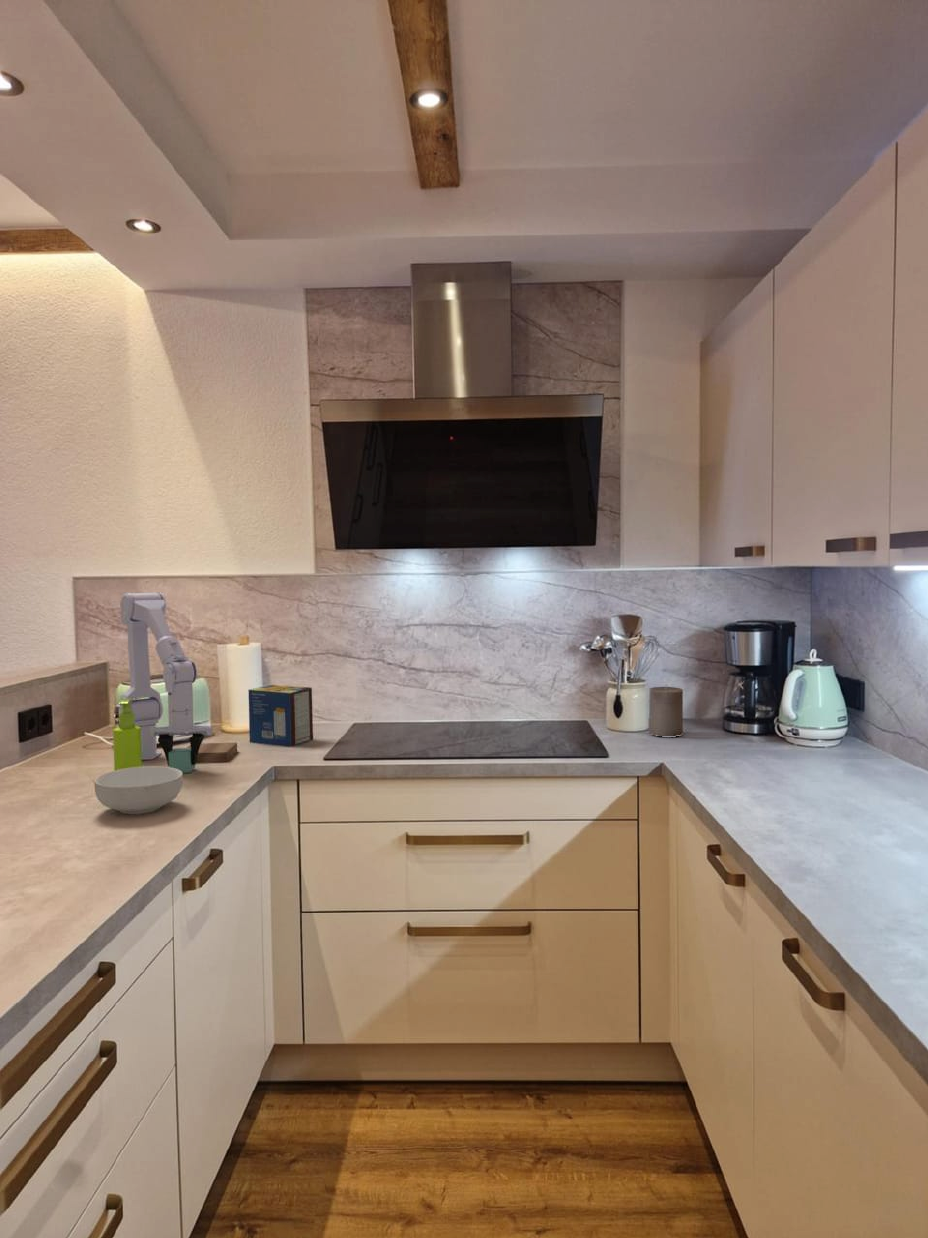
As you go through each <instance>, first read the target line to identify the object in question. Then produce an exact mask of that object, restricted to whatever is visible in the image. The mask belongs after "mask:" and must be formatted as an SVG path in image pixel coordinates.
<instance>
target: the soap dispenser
mask: <svg viewBox="0 0 928 1238" xmlns="http://www.w3.org/2000/svg"><path fill="white" fill-rule="evenodd" d="M130 701H131V698H128V699H121V700H120V699H119V706H120V705H122V711H123V712H121V713H119V712H118V726H117V727H115V728H113V730H112V731H113V732H112V736H113V741H112V742H113V763H114V766H113V767H114V768H113V769H114V770H113V771H115V770H120V769H125V768H133V767H143V761H142V753H141V727H139V726H135V715H134V712H132V711H130Z"/></svg>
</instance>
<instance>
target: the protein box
mask: <svg viewBox="0 0 928 1238" xmlns="http://www.w3.org/2000/svg"><path fill="white" fill-rule="evenodd" d="M247 691H248V722H249V723H248V725H249V727H248V728H249V729H248V730H249V731H248V732H249V735H248V736H249V743H257V744H263V745H264V744H265V745H272V746H273V745H274V746H282V747H294V746H297V745H300V744H304V743H308V742H311V741H313V740H314V727H313V726H314V725H313V724H314V723H313V722H314V720H313V719H314V718H313V688H312V687H311V686H309V687H308V686H307V687H306V686H305V687H304V686H289V685H277V684H276V685H275V684H269V685H264V686H259V687H254V688H250V689H248V690H247Z"/></svg>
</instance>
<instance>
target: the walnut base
mask: <svg viewBox="0 0 928 1238" xmlns="http://www.w3.org/2000/svg"><path fill="white" fill-rule="evenodd" d="M186 748H191V745H189V746H188V747H186ZM237 753H238V742H212V743H211V742H206V743H205V742H202V743H201V746H200V748H199V752H198V755H197V761H196V764H199V763H228V762H229V761H230V760H231V759H232V757H234V756H235V755H236V754H237Z"/></svg>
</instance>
